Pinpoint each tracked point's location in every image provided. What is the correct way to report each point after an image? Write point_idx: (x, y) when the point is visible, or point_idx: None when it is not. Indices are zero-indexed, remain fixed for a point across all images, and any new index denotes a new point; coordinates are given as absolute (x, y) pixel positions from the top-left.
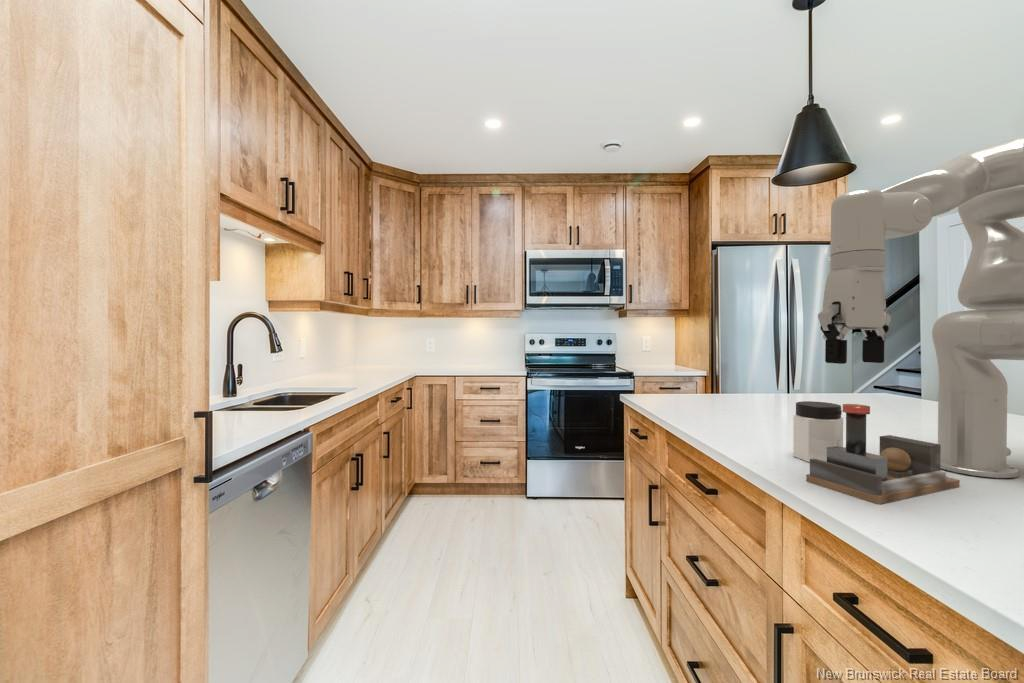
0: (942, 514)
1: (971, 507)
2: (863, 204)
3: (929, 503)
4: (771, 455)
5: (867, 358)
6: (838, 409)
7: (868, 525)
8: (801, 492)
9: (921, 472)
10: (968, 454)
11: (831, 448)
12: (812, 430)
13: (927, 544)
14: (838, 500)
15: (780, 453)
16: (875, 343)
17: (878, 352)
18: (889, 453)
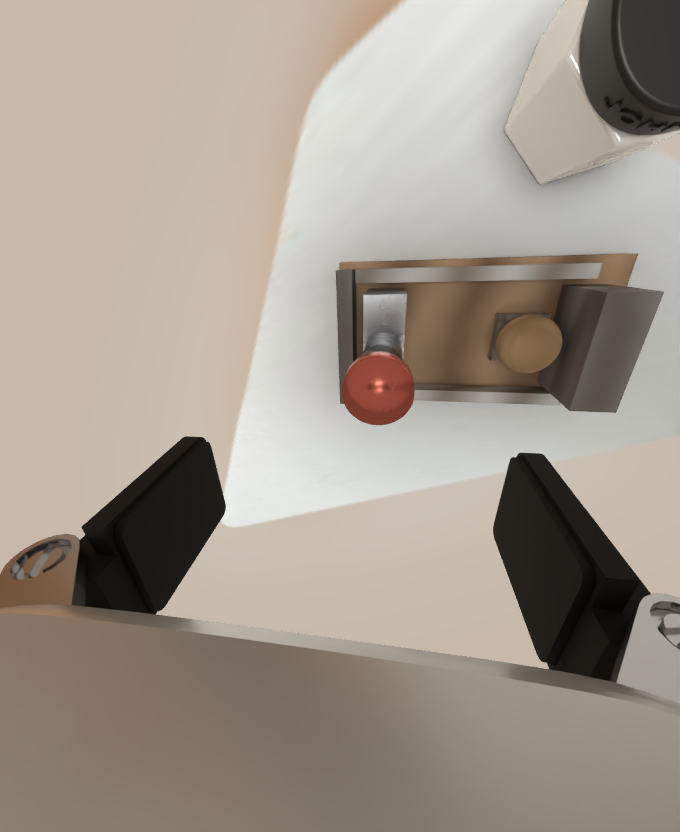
0: (387, 441)
1: (458, 446)
2: None
3: (421, 416)
4: None
5: (512, 490)
6: None
7: (260, 422)
8: (277, 307)
9: (544, 371)
10: None
11: (364, 306)
12: (550, 97)
13: (274, 469)
14: (303, 356)
15: None
16: (543, 620)
17: (515, 570)
18: (507, 349)
